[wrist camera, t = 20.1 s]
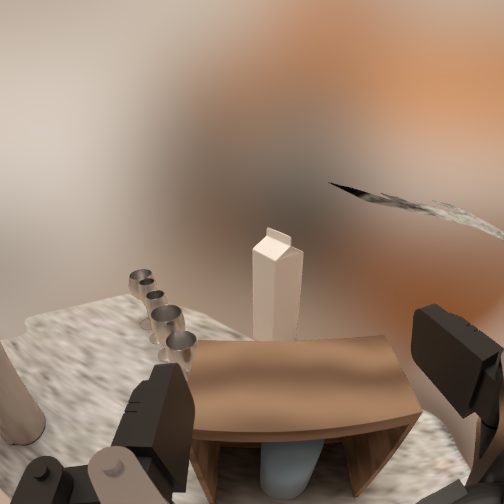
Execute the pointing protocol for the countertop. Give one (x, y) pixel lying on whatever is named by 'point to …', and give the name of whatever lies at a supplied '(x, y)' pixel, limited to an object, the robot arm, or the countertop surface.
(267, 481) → the grey-blue cylinder
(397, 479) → the countertop surface
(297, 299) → the milk
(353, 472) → the open wooden box
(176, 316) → the goblet set
